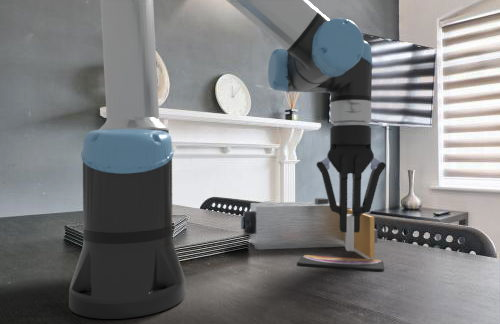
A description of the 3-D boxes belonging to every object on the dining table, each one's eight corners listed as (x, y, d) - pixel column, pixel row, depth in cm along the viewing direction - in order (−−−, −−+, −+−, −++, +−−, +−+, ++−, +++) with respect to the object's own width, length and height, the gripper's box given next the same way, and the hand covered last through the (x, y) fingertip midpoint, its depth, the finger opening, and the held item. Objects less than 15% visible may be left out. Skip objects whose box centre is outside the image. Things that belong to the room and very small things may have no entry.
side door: (379, 258, 74) (379, 215, 74) (370, 259, 74) (370, 216, 74) (353, 243, 88) (352, 207, 88) (345, 244, 88) (345, 207, 88)
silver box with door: (244, 250, 84) (244, 202, 84) (239, 242, 92) (239, 198, 92) (346, 246, 88) (346, 200, 88) (333, 239, 96) (333, 197, 96)
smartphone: (302, 254, 79) (383, 259, 75) (302, 258, 79) (383, 264, 75) (296, 262, 72) (384, 269, 67) (296, 267, 72) (384, 274, 67)
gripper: (317, 123, 73) (316, 252, 73) (390, 123, 71) (388, 255, 72) (315, 126, 80) (314, 244, 81) (381, 126, 79) (380, 246, 79)
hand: (349, 249), depth 76 cm, fingers closed
